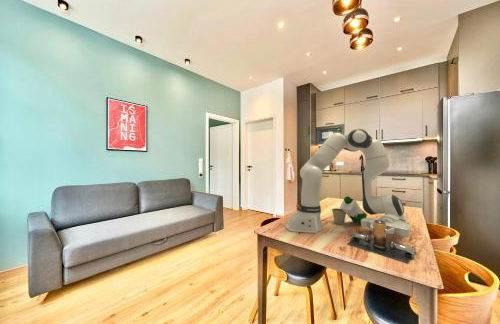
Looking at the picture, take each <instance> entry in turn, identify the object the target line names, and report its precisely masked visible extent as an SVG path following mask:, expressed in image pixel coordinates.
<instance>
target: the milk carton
mask: <svg viewBox="0 0 500 324" xmlns="http://www.w3.org/2000/svg"><path fill="white" fill-rule="evenodd" d="M339 209H342V210H343V211H344V212H345V213H346V215H347V216H348V217H349V219H351V221H352V222H353V223H356V224H360V225H361V219H364V218H368V217H367V216H368V213H367V212H366V211H364V209H363V208H361V207H360V205H359V204H358V203H357V200H356V199H354V198H351V197H350V196H348V195H347V196H346V197H344V198H343V200H342V202H341V203H340V206H339Z"/></svg>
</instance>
